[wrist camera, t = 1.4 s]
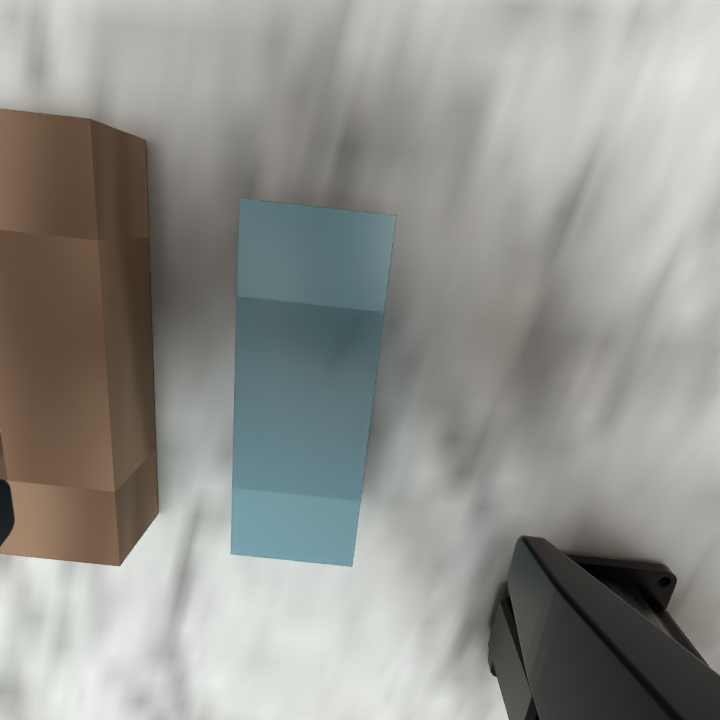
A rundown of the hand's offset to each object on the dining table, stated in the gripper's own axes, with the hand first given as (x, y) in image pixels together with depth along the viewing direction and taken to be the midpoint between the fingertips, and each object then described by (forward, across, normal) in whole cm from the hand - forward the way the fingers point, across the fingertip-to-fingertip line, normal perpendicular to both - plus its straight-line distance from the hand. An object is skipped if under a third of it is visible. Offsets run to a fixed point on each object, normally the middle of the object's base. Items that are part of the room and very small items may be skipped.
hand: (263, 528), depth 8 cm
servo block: (+9, 0, 0) cm, 9 cm away
